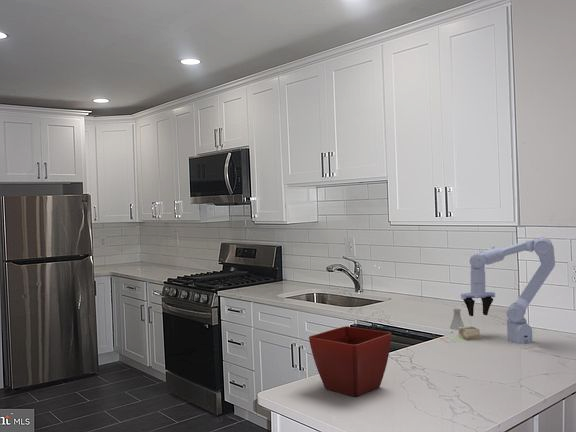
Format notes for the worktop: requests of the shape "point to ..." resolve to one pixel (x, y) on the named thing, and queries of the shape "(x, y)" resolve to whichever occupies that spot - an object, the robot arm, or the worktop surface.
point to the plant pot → (351, 358)
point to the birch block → (469, 333)
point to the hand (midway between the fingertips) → (478, 315)
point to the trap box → (459, 339)
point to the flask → (456, 320)
